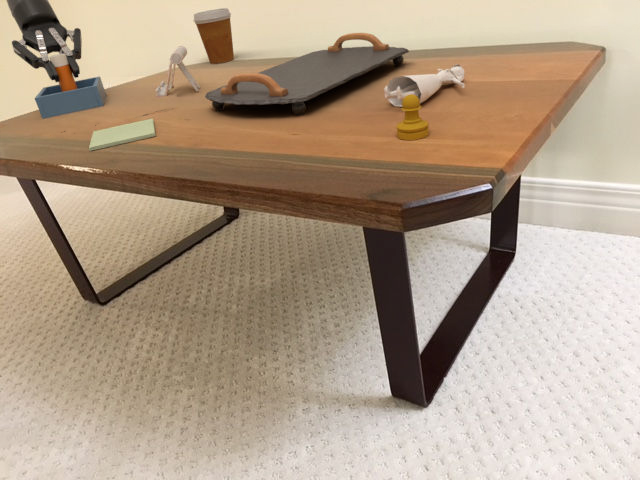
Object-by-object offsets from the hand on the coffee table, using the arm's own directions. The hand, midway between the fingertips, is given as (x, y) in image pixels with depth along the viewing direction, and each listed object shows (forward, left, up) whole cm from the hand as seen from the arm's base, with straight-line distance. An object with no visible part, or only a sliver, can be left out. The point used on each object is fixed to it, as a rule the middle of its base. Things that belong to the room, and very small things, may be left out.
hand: (67, 76), depth 107 cm
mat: (+9, -28, -7) cm, 30 cm away
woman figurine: (+55, -45, -7) cm, 72 cm away
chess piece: (+45, -60, -7) cm, 76 cm away
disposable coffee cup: (+33, +27, -7) cm, 43 cm away
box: (-1, +2, -7) cm, 7 cm away
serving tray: (+43, -23, -7) cm, 50 cm away
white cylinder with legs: (+20, -3, -7) cm, 22 cm away
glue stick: (-1, +2, -6) cm, 6 cm away
